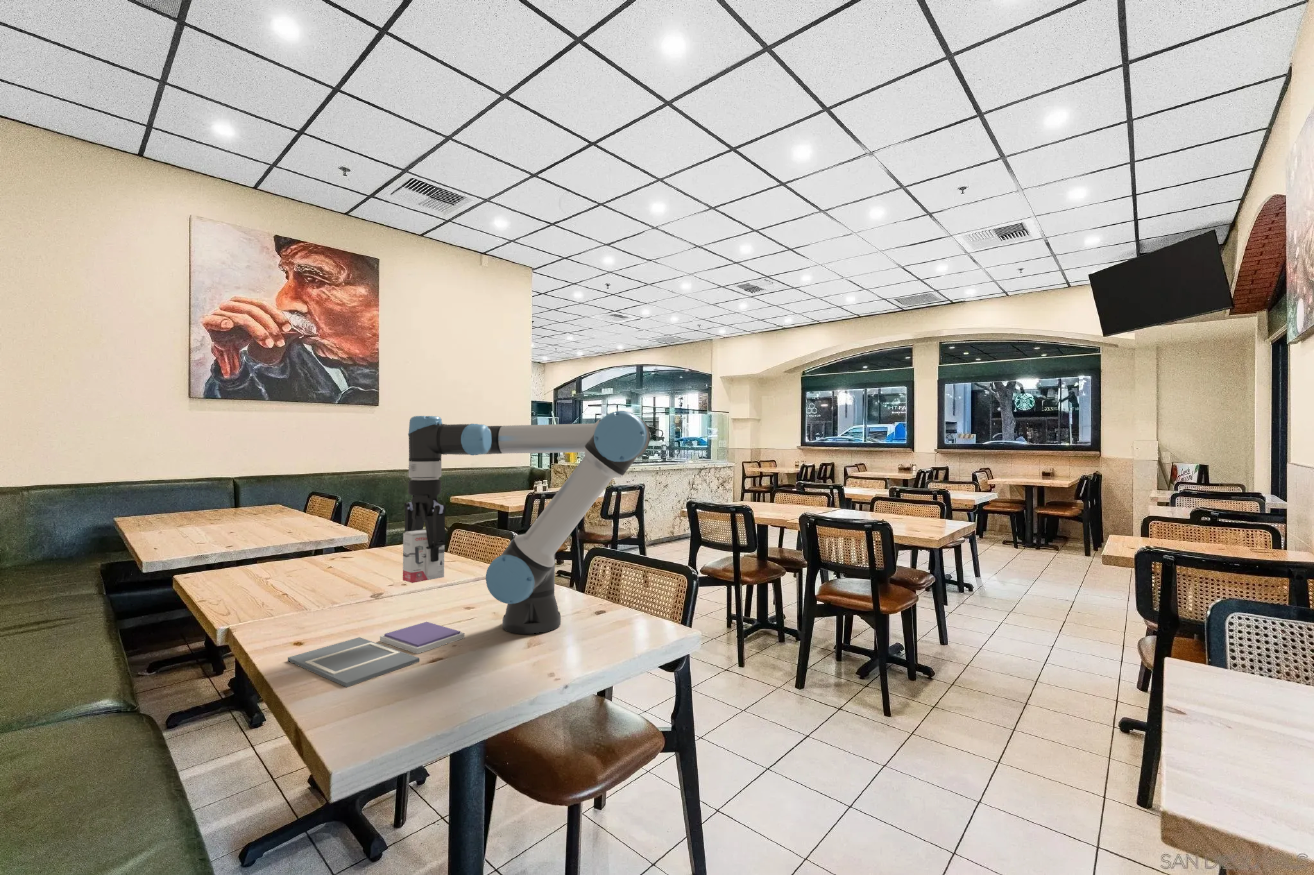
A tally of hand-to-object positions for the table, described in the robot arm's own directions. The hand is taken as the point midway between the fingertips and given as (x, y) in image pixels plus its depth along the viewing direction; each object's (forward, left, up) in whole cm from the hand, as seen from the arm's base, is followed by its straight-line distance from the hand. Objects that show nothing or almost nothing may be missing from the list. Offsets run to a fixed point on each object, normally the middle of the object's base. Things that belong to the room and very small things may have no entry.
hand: (424, 572), depth 139 cm
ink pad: (0, 0, -16) cm, 16 cm away
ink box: (0, 0, -2) cm, 2 cm away
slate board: (0, +17, -16) cm, 24 cm away
